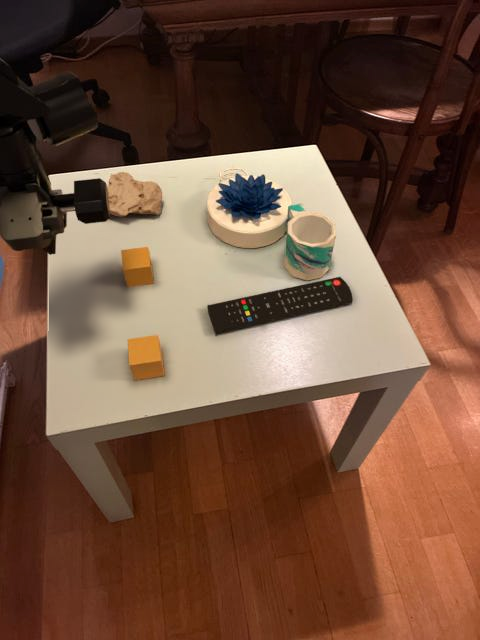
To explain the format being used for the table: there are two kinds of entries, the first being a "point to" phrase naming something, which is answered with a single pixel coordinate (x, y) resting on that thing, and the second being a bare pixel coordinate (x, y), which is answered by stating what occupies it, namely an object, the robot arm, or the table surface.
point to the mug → (308, 243)
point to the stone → (133, 195)
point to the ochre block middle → (137, 266)
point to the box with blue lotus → (247, 210)
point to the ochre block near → (145, 357)
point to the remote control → (279, 304)
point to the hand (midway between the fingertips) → (52, 252)
